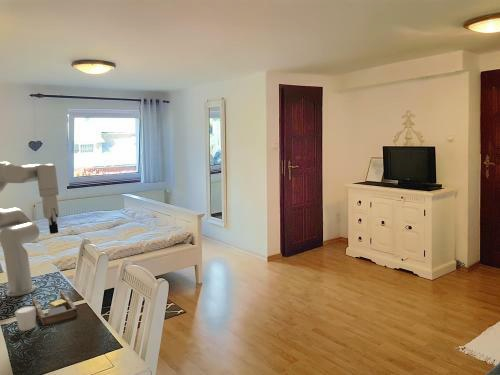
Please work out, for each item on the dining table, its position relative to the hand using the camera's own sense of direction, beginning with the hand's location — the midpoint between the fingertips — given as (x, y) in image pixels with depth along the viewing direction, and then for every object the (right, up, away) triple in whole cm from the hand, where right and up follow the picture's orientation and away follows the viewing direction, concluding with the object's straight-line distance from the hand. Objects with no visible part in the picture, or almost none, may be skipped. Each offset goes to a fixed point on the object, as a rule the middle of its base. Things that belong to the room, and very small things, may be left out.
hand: (54, 233), depth 179 cm
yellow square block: (+7, -31, -10) cm, 33 cm away
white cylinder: (+3, -33, -26) cm, 42 cm away
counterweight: (+11, -32, -18) cm, 38 cm away
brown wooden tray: (+6, -31, -12) cm, 33 cm away
